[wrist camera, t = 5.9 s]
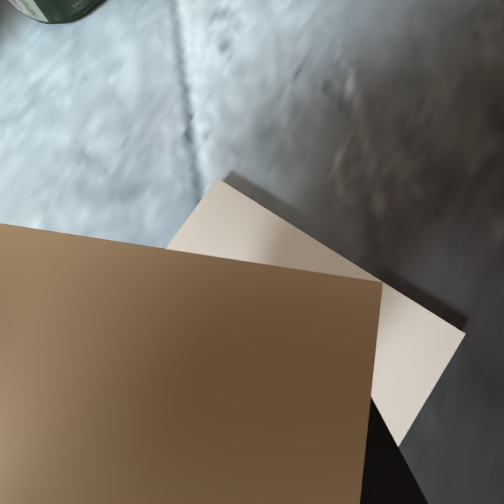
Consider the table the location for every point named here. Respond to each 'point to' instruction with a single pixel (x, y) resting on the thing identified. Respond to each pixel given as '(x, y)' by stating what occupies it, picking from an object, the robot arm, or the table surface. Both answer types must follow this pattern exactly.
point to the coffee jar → (53, 9)
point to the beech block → (178, 376)
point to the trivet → (327, 261)
